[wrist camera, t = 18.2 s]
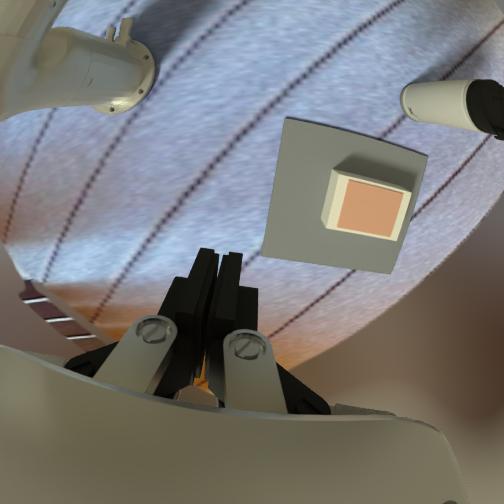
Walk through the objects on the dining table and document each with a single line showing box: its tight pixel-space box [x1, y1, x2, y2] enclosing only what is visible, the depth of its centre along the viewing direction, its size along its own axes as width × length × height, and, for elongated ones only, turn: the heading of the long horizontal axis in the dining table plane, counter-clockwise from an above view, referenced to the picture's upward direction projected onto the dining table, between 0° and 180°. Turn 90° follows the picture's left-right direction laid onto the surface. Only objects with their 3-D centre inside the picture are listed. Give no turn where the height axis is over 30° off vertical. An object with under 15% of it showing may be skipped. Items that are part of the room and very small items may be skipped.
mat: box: [261, 118, 428, 274], centre depth 42 cm, size 22×24×1 cm
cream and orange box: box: [321, 169, 412, 241], centre depth 40 cm, size 8×4×12 cm
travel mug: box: [400, 79, 504, 141], centre depth 25 cm, size 6×7×20 cm
